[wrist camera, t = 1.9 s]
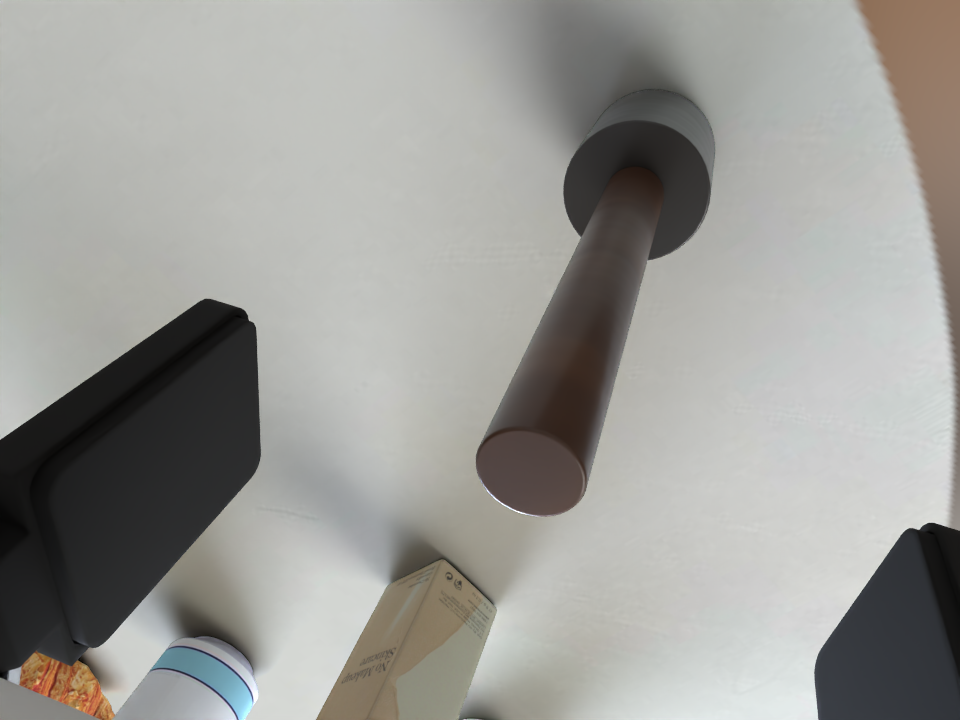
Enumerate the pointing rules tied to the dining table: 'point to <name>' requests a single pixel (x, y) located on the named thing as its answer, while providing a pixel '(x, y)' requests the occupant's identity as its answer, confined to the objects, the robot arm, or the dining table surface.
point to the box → (415, 651)
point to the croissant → (66, 685)
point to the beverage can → (194, 684)
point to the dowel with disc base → (597, 295)
